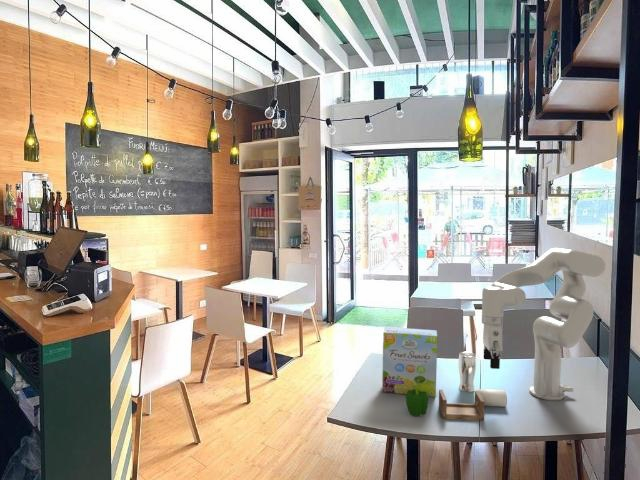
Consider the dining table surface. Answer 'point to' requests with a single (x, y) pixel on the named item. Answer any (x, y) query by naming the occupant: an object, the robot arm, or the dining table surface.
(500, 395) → the roll
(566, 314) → the robot arm
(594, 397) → the dining table surface
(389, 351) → the snack box
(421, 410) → the bell pepper
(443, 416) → the cradle
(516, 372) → the dining table surface
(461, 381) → the beer glass
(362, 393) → the dining table surface
